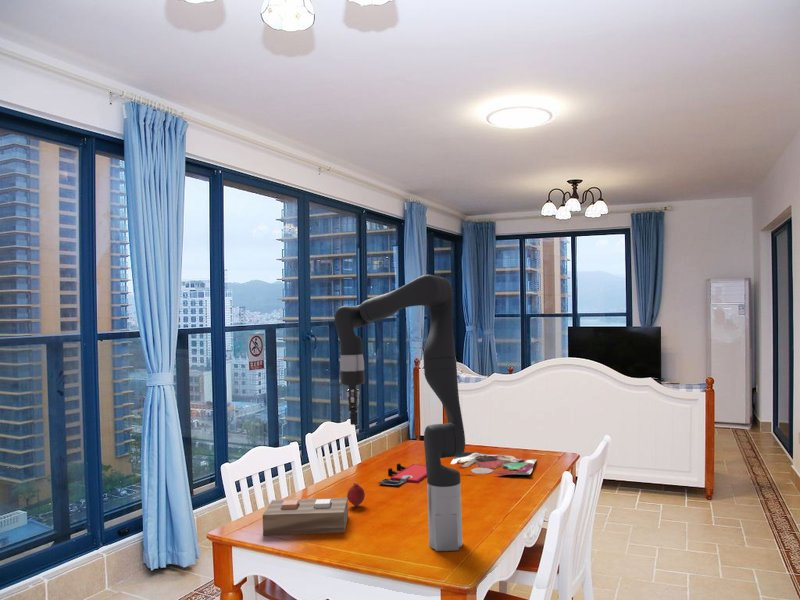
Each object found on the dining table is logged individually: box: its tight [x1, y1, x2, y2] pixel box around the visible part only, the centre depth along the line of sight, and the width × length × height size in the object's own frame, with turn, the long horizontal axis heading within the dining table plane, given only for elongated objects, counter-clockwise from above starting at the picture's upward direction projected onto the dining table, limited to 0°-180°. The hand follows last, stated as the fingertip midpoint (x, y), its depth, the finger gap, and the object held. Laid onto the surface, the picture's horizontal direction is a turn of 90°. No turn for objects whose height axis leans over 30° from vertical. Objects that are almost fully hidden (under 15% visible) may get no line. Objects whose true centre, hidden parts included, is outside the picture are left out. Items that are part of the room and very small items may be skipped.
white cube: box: [315, 498, 331, 508], centre depth 187 cm, size 4×4×4 cm
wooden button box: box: [262, 497, 349, 536], centre depth 187 cm, size 14×24×6 cm, turn 90°
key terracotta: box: [282, 499, 299, 509], centre depth 187 cm, size 4×4×4 cm
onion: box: [346, 482, 366, 508], centre depth 204 cm, size 6×6×8 cm
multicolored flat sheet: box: [450, 451, 537, 478], centre depth 253 cm, size 35×35×2 cm
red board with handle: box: [378, 462, 427, 486], centre depth 240 cm, size 30×3×15 cm
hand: (354, 424), depth 192 cm, fingers closed
